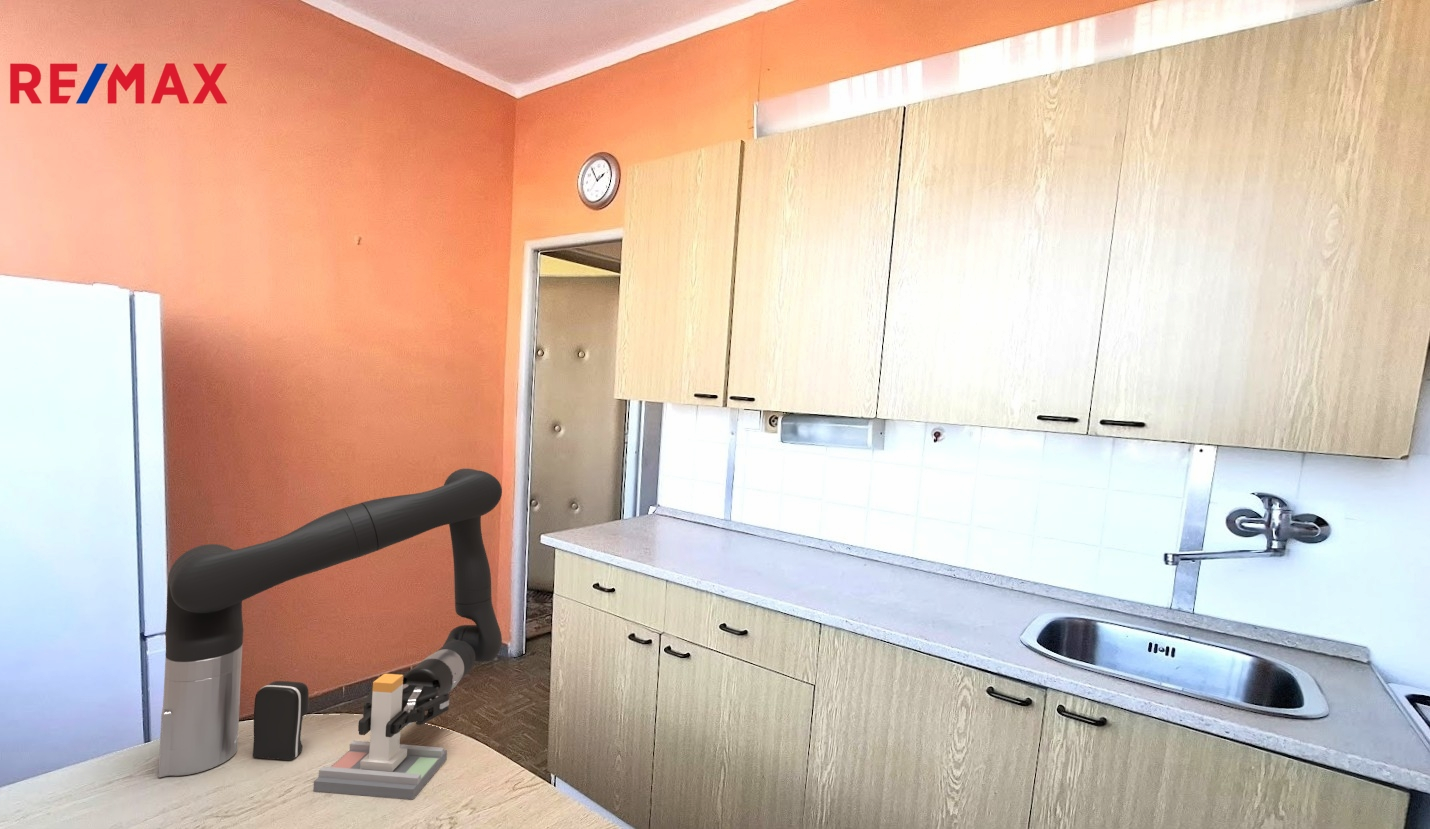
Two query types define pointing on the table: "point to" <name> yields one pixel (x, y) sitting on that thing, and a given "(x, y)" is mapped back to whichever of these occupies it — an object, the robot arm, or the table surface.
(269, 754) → the battery charger
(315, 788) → the switch panel
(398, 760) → the switch handle
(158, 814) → the table surface
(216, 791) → the table surface
